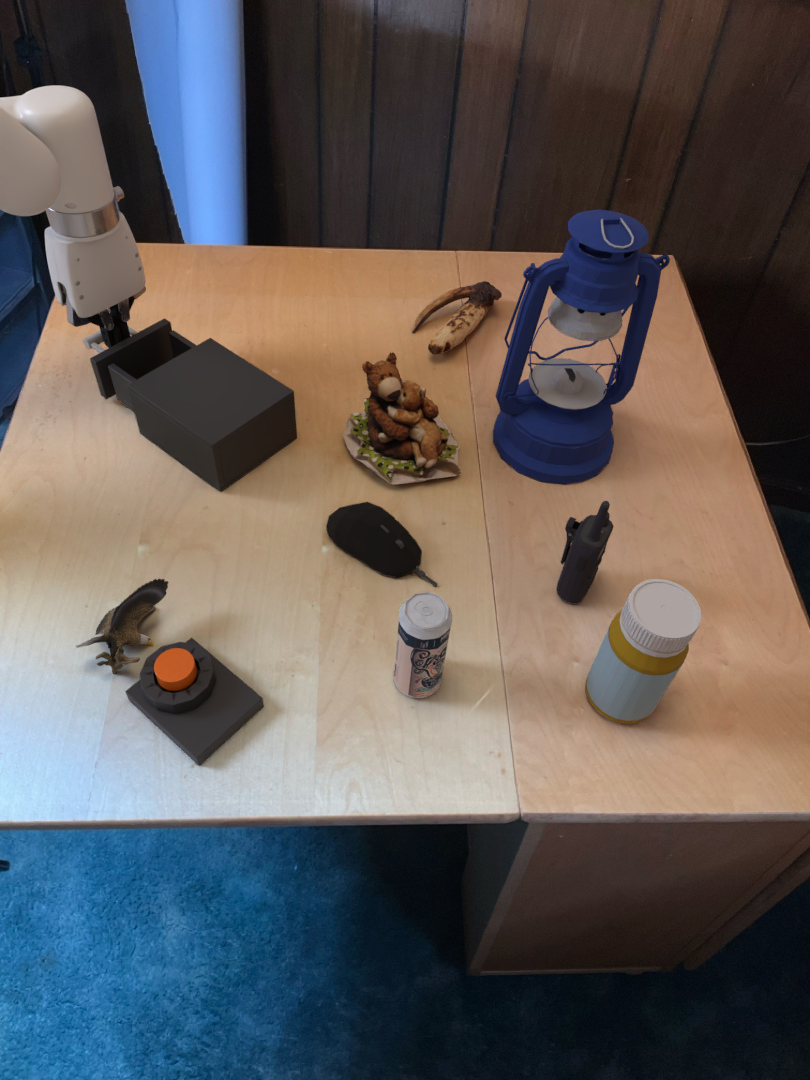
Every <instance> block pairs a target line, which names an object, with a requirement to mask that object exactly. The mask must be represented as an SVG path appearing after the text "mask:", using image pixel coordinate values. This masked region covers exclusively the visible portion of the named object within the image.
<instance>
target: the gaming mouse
mask: <svg viewBox="0 0 810 1080" xmlns="http://www.w3.org/2000/svg"><path fill="white" fill-rule="evenodd" d="M326 533H327V536H328V537H329V539H331V541H332V542H333V543H334V544H335V545H336V547H338V548H339V549H341V550H342V551H343V552H345V553H346V554H348V555H350V556H351V557H353V558H355V559H357V560H358V561H360V562H361V563H363V564H365V565H366V566H367V567H369V568H370V569H372V570H374V571H376V572H378V573H380V574H381V575H383V576H386V577H387V576H389V577H393V578H397V579H398V578H400V577H403V576H406V575H409V574H412V573H413V572H414V573H415V574H417V575H418V576H419V577H420V578H422V579H423V578H424V579H425V580H426V581H427V582H429V583H430V584H432V586H434V587H435V588H436V587H438V585H439V584H438V582H437V581H434V579H432V578H431V577H429V576H428V575H427V573H426V572H425V571H423V570H422V569H420V568H419V566H420V565H421V560H422V553H423V552H422V551H423V550H422V548H421V547H420V546H419V544H418V542H417V540H416V539H415V538H414V537H413V535H411V534H410V531H408V530H407V528H406V527H404V525H403V524H402V523H401V522H400V521H399V520H398V519H396V517H395V516H393V514H391V513H390V512H389V511H387V510H386V509H384V508H383V507H381V506H380V505H377V504H374V503H372V502H370V501H364V502H358V503H353V504H349V505H344V506H341V507H338V508H337V509H336V510H334V511H333V512H332V513H331V514H330V515H328V519H327V522H326Z"/></svg>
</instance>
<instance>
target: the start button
mask: <svg viewBox="0 0 810 1080" xmlns="http://www.w3.org/2000/svg"><path fill="white" fill-rule="evenodd" d="M154 671H155V674H156V677H157V680H158V682H159V684H160V685H161V686H162V687H163V688H164V689H166V690H169V691H180V690H183V689H185V688H187V687H189V686H190V685H191V684H192V683H193V682H194V680H195V678H196V676H197V668H196V664H195V661H194V657H193V656H192V654H191V653H190V652H189V651H187V650H185V649H181V648H173V649H169V650H167V651H165V652H163V653H162V654H161V655H160V656H159V657H158V658H157V659H156V661H155V664H154Z"/></svg>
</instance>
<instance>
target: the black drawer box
mask: <svg viewBox="0 0 810 1080" xmlns="http://www.w3.org/2000/svg"><path fill="white" fill-rule="evenodd" d="M196 345H197V346H195V347H193V348H191V349H190V350H188V351H186V352H184V353H183V354H181V355H179V356H177V357H176V358H174V359H172V360H170V361H169V362H167V363H165V364H163V365H162V366H160V367H158V368H156V369H155V370H153V371H151V372H150V373H148V374H146V375H144V376H143V377H141V378H139V379H137V380H136V381H134V382H132V383H130V384H129V385H127V386H128V390H129V394H130V398H131V401H132V405H133V409H134V411H133V412H134V416H135V419H136V423H137V427H138V431H139V434H140V435H141V436H143V437H144V438H146V439H147V440H148V441H149V442H151V443H152V444H153V445H155V446H156V447H158V448H159V449H160V450H162V451H164V453H166V454H167V455H168V456H170V457H171V458H173V459H174V460H175V461H176V462H178V463H180V464H181V465H182V466H183V467H185V468H187V469H188V471H190V472H192V473H193V474H194V475H196V476H197V477H199V479H201V480H203V481H204V482H205V483H207V484H208V485H209V486H211V487H212V488H214V489H215V490H216V491H217V492H219V493H222V492H223V491H225V490H226V489H228V488H229V487H231V486H232V485H233V484H235V483H236V482H237V481H239V480H240V479H242V478H244V477H245V476H246V475H248V474H249V473H250V472H252V471H254V470H255V469H256V468H258V467H259V466H260V465H262V464H263V463H264V462H266V461H267V460H269V459H270V458H272V457H273V456H274V455H276V454H277V453H278V452H280V451H281V450H283V449H285V448H286V447H287V446H289V445H290V444H291V443H292V442H294V441H296V440H297V439H298V430H297V429H298V428H297V414H296V398H295V391H294V390H293V389H292V388H291V387H289V386H287V385H285V384H284V383H282V382H281V381H280V380H278V379H276V378H274V377H273V376H271V375H270V374H268V373H267V372H265V371H264V370H262V369H260V368H259V367H257V366H256V365H254V364H253V363H251V362H250V361H248V360H246V359H245V358H243V357H242V356H240V355H238V354H237V353H235V352H234V351H232V350H230V349H229V348H227V347H225V346H224V345H223V344H221V343H219V342H218V341H216V340H214V339H213V338H211V337H209V338H207V339H205V340H203V341H201V342H200V343H199V344H196Z"/></svg>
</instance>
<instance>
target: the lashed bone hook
mask: <svg viewBox="0 0 810 1080" xmlns="http://www.w3.org/2000/svg"><path fill="white" fill-rule="evenodd" d="M501 298H502V291H501V290H500V289H498V288H496V287H495V285H493V284H491V283H490V282H489V281H485V280H483V281H480V282H476V283H474V284H471V285H465V286H460V287H456V288H453V289H451V290H448V291H445V292H444V293H442V294H440V295H439V296H438V297H436V298H434V299H433V300H432V301H430V302H429V303H428V304H427V305H426V306H425V307H424V308H423V309H422V310H421V311H420V313H419V314H418V316H417V317H416V319H415V320H414V323H413V326H412V329H411V333H412V334H413V333H416V332H417V331H418V330H419V329H420V327H421V326H422V325H423V324H424V323H425V322H426V321H427V319H428V318H430V316H432V315H433V314H434V313H436V312H437V311H439V310H441V309H443V308H444V307H446V306H447V305H449V304H452V303H453V302H456V301H460V300H464V299H467V300H466V301H465V302H464V303H463V305H462V306H461V307H460V308H459V309H458V310H457V311H456V312H455V313H453V315H452V316H451V317H450V318H449V319H448V321H447V322H446V323H445V324H444V325H443V326H442V328H441V329H440V330H439V331H437V332H436V333H435V334H434V336H433V337H432V338H431V339H430V342H429V343H428V346H427V349H428V351H429V353H430V354H432V355H435V356H439V355H441V354H442V355H443V353H447V352H449V351H451V350H452V349H453V348H455V347H457V346H458V345H460V344H461V343H462V342H463V341H464V340H465V338H467V336H468V335H470V334H471V333H472V332H473V331H474V330H475V329H476V328H477V327H478V326H479V324H480V323H481V322H482V321H483V318H484V317H485V316H486V315H488V311H489V310H490V308H491V307H492V306H493V305H494V303H495V301H499V300H500V299H501Z"/></svg>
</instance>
